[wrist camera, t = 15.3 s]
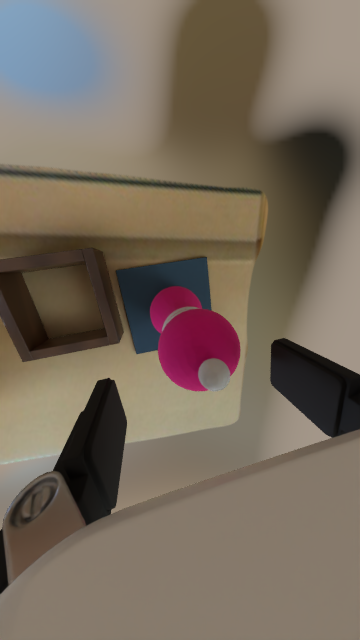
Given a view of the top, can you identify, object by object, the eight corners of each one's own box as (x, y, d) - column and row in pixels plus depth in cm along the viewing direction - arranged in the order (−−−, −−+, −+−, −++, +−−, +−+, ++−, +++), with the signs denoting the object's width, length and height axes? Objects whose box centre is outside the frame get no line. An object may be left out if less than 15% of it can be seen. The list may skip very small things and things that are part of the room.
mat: (136, 352, 29) (136, 354, 29) (116, 270, 25) (115, 270, 25) (213, 337, 31) (214, 338, 31) (205, 257, 27) (206, 257, 26)
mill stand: (43, 347, 27) (22, 362, 22) (6, 264, 23) (-27, 263, 18) (124, 332, 28) (119, 343, 24) (102, 251, 24) (92, 247, 20)
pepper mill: (141, 312, 27) (120, 411, 8) (166, 274, 26) (208, 285, 7) (177, 334, 29) (228, 452, 10) (202, 300, 28) (307, 360, 9)
